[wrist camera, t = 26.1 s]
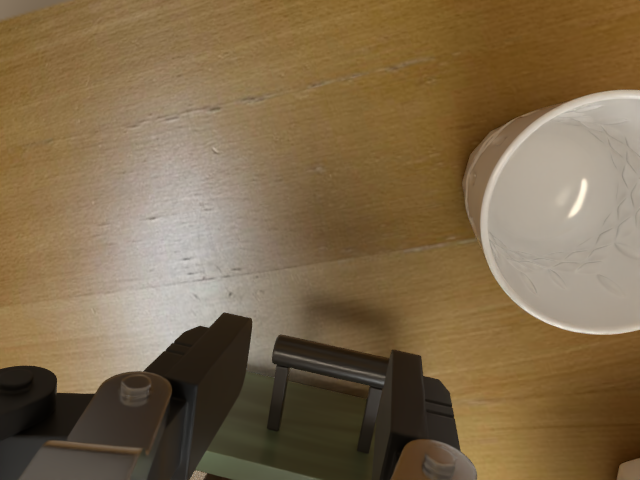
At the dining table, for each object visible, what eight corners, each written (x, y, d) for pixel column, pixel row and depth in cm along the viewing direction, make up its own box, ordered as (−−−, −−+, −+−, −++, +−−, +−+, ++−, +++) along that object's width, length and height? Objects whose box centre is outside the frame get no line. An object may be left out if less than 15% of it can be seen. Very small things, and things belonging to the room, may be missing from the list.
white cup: (581, 273, 26) (690, 361, 16) (433, 238, 27) (452, 302, 17) (637, 122, 24) (797, 120, 14) (474, 88, 25) (523, 65, 15)
